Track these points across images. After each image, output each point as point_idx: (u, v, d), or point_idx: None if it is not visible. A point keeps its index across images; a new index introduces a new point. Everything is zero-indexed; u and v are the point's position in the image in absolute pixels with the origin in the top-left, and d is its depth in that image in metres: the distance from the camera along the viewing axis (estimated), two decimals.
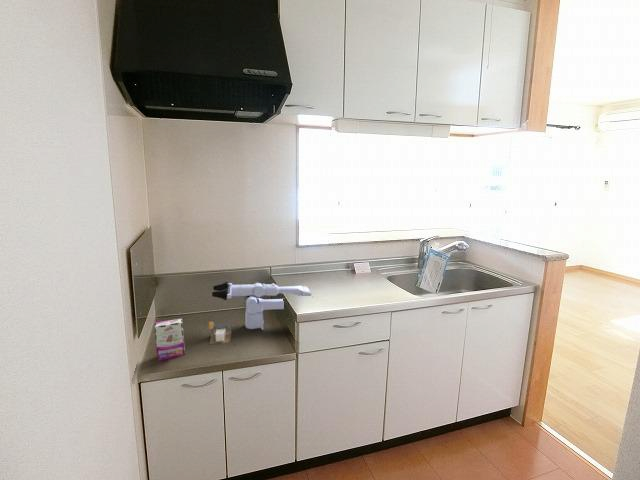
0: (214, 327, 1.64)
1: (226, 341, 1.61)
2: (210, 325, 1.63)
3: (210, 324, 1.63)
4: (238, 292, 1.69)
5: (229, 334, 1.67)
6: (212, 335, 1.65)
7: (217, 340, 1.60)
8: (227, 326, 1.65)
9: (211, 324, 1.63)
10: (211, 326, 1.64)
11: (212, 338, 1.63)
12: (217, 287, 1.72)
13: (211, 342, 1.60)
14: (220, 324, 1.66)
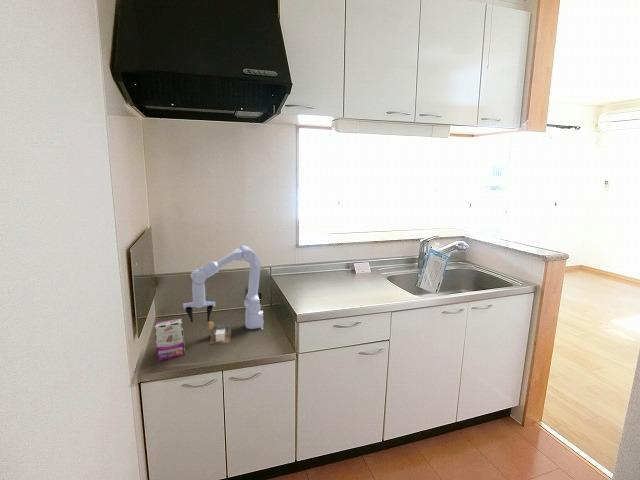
0: (214, 327, 1.64)
1: (226, 341, 1.61)
2: (210, 325, 1.63)
3: (210, 324, 1.63)
4: None
5: (229, 334, 1.67)
6: (212, 335, 1.65)
7: (217, 340, 1.60)
8: (227, 326, 1.65)
9: (211, 324, 1.63)
10: (211, 326, 1.64)
11: (212, 338, 1.63)
12: (192, 317, 1.61)
13: (211, 342, 1.60)
14: (220, 324, 1.66)
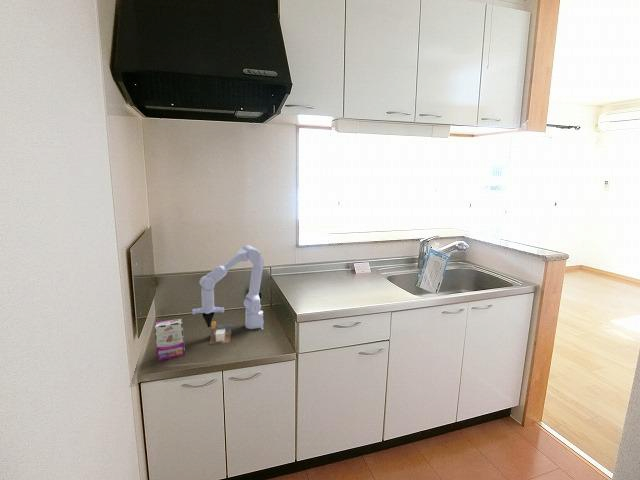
0: (217, 327, 1.64)
1: (226, 341, 1.61)
2: (213, 325, 1.64)
3: (213, 324, 1.63)
4: None
5: (229, 334, 1.67)
6: (212, 335, 1.65)
7: (217, 340, 1.60)
8: (229, 326, 1.66)
9: (214, 324, 1.64)
10: (214, 326, 1.64)
11: (212, 338, 1.63)
12: None
13: (211, 342, 1.60)
14: (222, 324, 1.66)
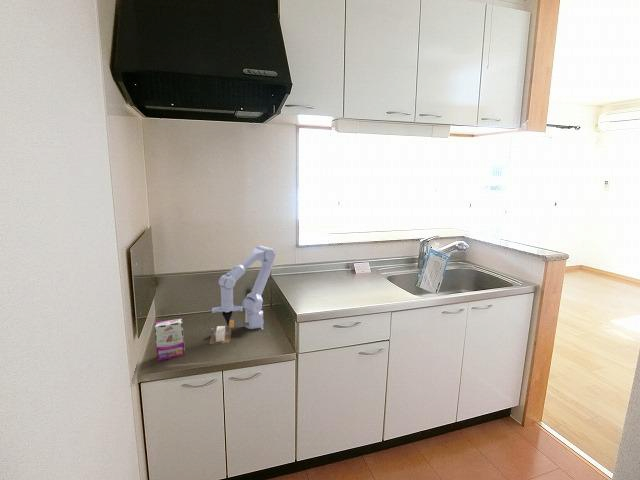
0: (234, 326, 1.66)
1: (226, 341, 1.61)
2: (231, 324, 1.65)
3: (231, 323, 1.65)
4: None
5: (229, 334, 1.67)
6: (212, 335, 1.65)
7: (217, 340, 1.60)
8: (247, 325, 1.67)
9: (232, 323, 1.65)
10: (232, 325, 1.66)
11: (212, 338, 1.63)
12: None
13: (211, 342, 1.60)
14: (240, 323, 1.68)
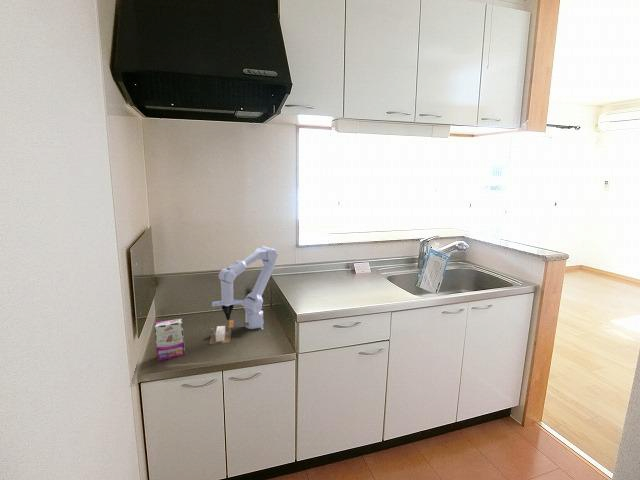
0: (234, 326, 1.66)
1: (226, 341, 1.61)
2: (230, 324, 1.65)
3: (230, 323, 1.65)
4: None
5: (229, 334, 1.67)
6: (212, 335, 1.65)
7: (217, 340, 1.60)
8: (247, 325, 1.67)
9: (231, 323, 1.65)
10: (231, 325, 1.66)
11: (212, 338, 1.63)
12: None
13: (211, 342, 1.60)
14: (240, 323, 1.68)
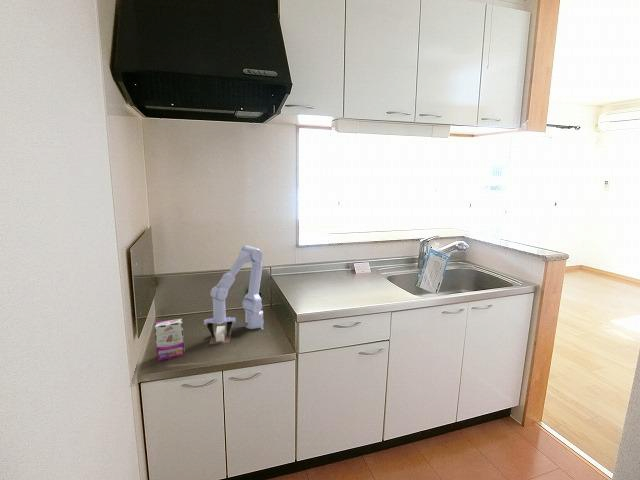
0: (233, 326, 1.66)
1: (226, 341, 1.61)
2: None
3: None
4: (225, 312, 1.61)
5: (229, 334, 1.67)
6: None
7: (217, 340, 1.60)
8: (246, 325, 1.67)
9: None
10: None
11: (212, 338, 1.63)
12: (213, 333, 1.62)
13: (211, 342, 1.60)
14: (239, 323, 1.68)
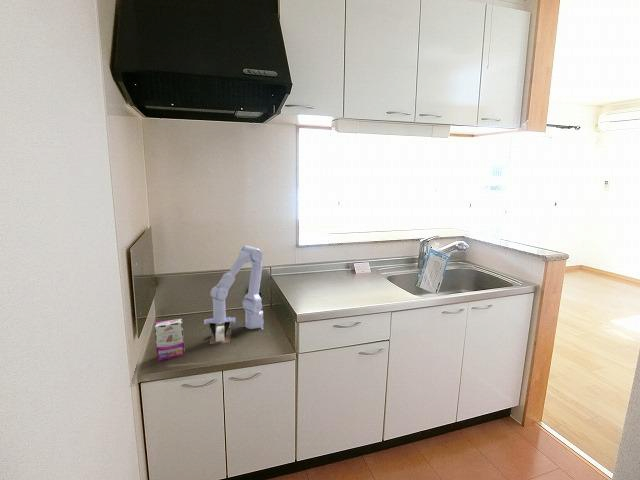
0: (231, 326, 1.66)
1: (226, 341, 1.61)
2: None
3: None
4: (225, 312, 1.61)
5: (229, 334, 1.67)
6: (212, 335, 1.65)
7: (217, 340, 1.60)
8: (244, 325, 1.67)
9: None
10: None
11: (212, 338, 1.63)
12: (215, 333, 1.62)
13: (211, 342, 1.60)
14: (237, 323, 1.68)
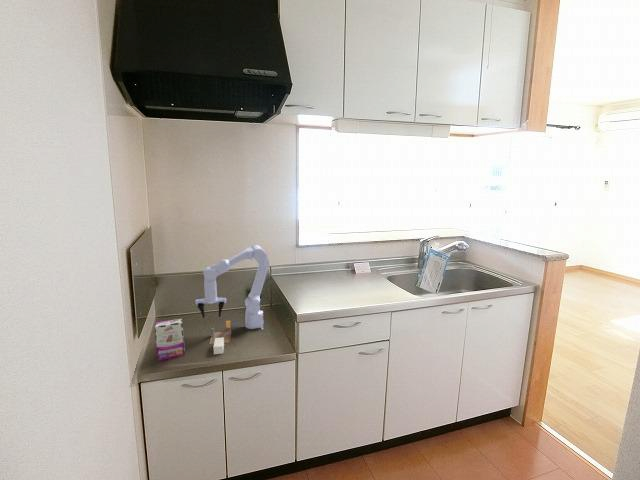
0: (231, 326, 1.66)
1: (226, 341, 1.61)
2: (227, 324, 1.65)
3: (227, 323, 1.65)
4: (216, 292, 1.65)
5: (229, 334, 1.67)
6: (212, 335, 1.65)
7: (215, 353, 1.50)
8: (244, 325, 1.67)
9: (228, 323, 1.65)
10: (228, 325, 1.65)
11: (212, 338, 1.63)
12: (204, 313, 1.66)
13: (211, 342, 1.60)
14: (237, 323, 1.68)
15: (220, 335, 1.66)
